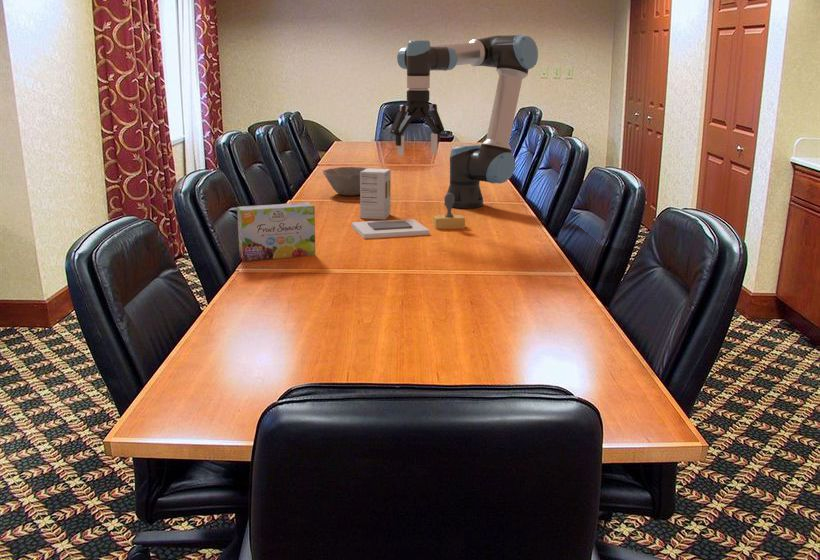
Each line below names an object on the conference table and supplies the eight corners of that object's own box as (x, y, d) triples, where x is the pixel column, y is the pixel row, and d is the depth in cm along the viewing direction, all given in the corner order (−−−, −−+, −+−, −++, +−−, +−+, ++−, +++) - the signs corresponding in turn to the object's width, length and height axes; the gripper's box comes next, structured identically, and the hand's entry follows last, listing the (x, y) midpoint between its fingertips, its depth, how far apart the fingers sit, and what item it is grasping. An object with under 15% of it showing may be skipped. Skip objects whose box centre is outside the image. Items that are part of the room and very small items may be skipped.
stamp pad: (413, 223, 262) (413, 217, 261) (429, 234, 245) (429, 228, 244) (351, 226, 255) (351, 220, 255) (363, 238, 239) (363, 232, 238)
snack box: (243, 262, 211) (240, 209, 206) (239, 257, 216) (236, 206, 211) (316, 255, 219) (314, 204, 214) (310, 251, 224) (309, 201, 219)
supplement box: (384, 220, 266) (384, 172, 261) (359, 218, 268) (359, 171, 263) (391, 214, 275) (391, 168, 270) (366, 213, 277) (366, 167, 272)
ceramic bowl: (388, 193, 318) (388, 169, 315) (355, 201, 299) (355, 176, 296) (346, 188, 329) (345, 165, 326) (312, 195, 310) (311, 171, 308)
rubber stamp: (435, 229, 253) (436, 194, 249) (433, 225, 258) (434, 191, 255) (464, 229, 254) (465, 194, 250) (461, 225, 259) (462, 190, 256)
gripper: (442, 88, 257) (440, 150, 263) (379, 89, 243) (380, 155, 249) (455, 89, 251) (453, 153, 257) (392, 90, 237) (392, 158, 243)
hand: (417, 154), depth 253 cm, fingers open, 13 cm apart
